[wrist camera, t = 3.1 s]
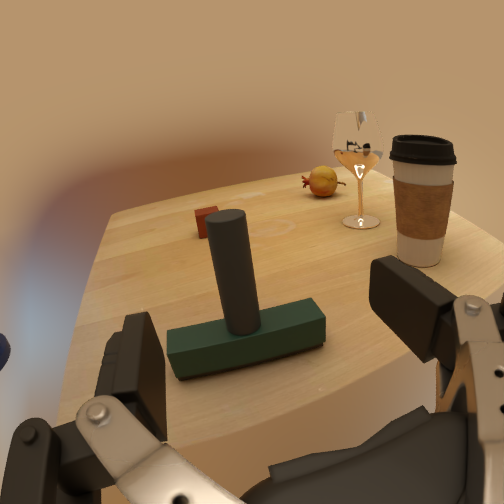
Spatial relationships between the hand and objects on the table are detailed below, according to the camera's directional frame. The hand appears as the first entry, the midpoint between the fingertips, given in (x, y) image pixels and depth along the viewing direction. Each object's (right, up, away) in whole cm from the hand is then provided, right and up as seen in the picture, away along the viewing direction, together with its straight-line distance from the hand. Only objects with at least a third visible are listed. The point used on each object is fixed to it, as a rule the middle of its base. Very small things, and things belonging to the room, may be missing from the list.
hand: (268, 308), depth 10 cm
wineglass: (+17, +7, +39) cm, 43 cm away
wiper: (-1, -7, +14) cm, 15 cm away
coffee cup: (+21, +1, +25) cm, 32 cm away
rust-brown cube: (-8, +5, +43) cm, 44 cm away
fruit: (+15, +14, +56) cm, 60 cm away
